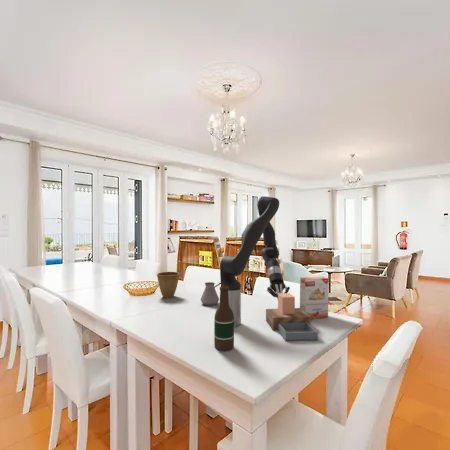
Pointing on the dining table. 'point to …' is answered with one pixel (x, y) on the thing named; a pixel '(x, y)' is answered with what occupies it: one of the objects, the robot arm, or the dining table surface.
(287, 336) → the box
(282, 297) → the terracotta block
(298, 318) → the walnut platform
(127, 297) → the dining table surface
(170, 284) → the plant pot
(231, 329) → the beer bottle
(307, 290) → the cracker box
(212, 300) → the coffee pot
